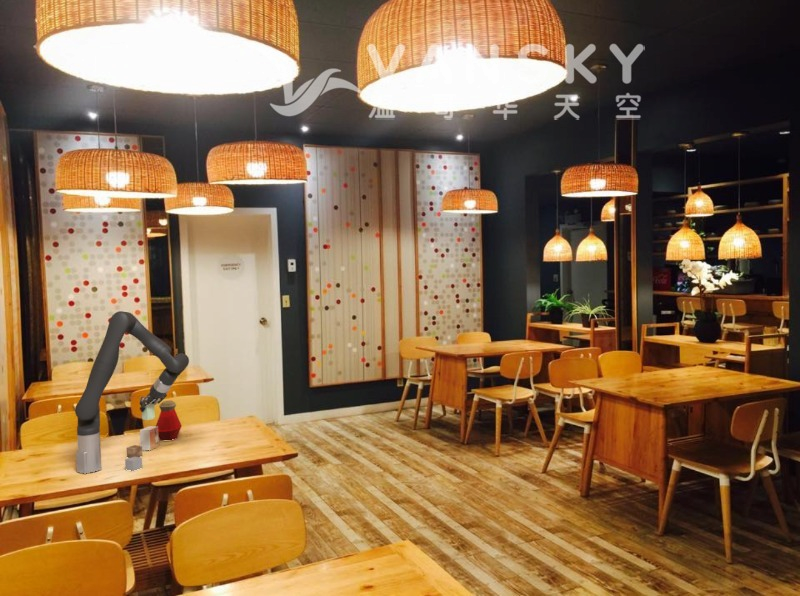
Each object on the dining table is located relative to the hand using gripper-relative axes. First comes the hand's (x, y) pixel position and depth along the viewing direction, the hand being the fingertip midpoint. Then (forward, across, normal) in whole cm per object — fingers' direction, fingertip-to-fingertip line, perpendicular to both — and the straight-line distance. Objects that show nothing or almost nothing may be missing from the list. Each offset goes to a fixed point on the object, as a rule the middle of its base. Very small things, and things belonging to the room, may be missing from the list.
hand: (145, 409), depth 303 cm
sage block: (+2, 0, +4) cm, 5 cm away
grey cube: (+12, +13, +22) cm, 28 cm away
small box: (+27, -13, +7) cm, 31 cm away
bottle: (+31, -30, +3) cm, 44 cm away
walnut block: (+24, 0, +11) cm, 26 cm away
